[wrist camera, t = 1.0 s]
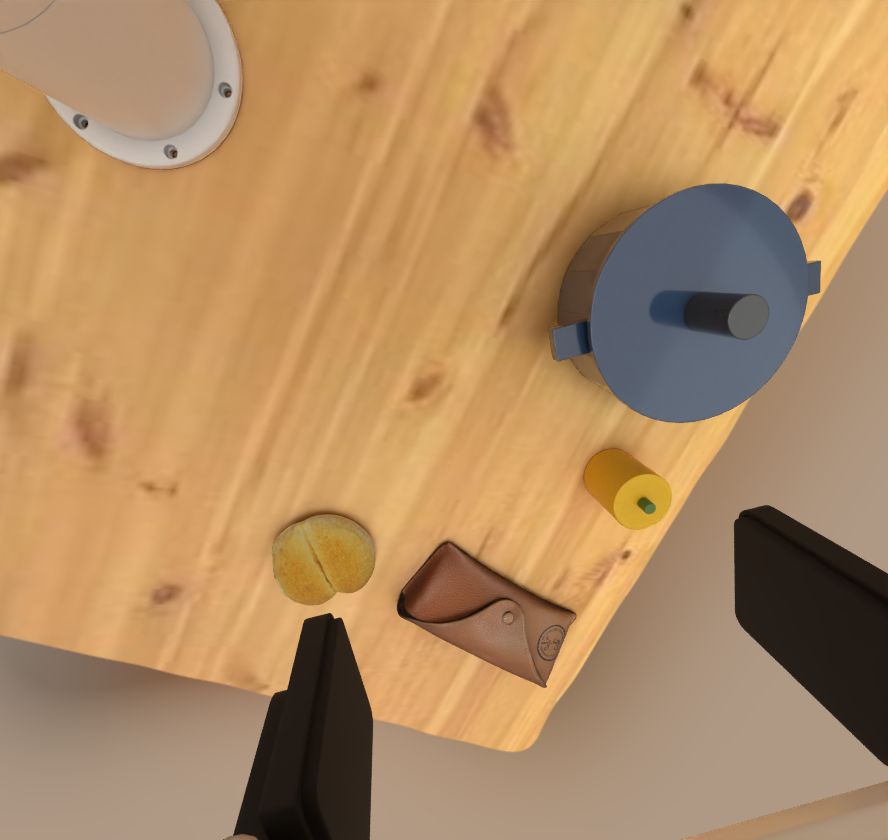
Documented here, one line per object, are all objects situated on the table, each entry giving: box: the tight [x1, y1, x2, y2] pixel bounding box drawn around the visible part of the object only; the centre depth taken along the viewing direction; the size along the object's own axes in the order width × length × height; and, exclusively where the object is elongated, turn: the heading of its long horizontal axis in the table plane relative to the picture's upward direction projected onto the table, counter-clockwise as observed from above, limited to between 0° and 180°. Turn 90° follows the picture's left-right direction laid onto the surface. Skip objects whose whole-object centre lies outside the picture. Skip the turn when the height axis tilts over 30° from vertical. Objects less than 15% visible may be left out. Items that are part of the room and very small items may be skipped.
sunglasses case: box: [397, 543, 577, 688], centre depth 46 cm, size 18×7×7 cm
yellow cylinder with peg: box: [584, 449, 671, 530], centre depth 42 cm, size 5×5×7 cm
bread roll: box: [272, 514, 376, 605], centre depth 41 cm, size 8×9×4 cm
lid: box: [587, 184, 809, 423], centre depth 32 cm, size 17×17×6 cm
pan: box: [548, 206, 821, 393], centre depth 37 cm, size 16×21×7 cm
